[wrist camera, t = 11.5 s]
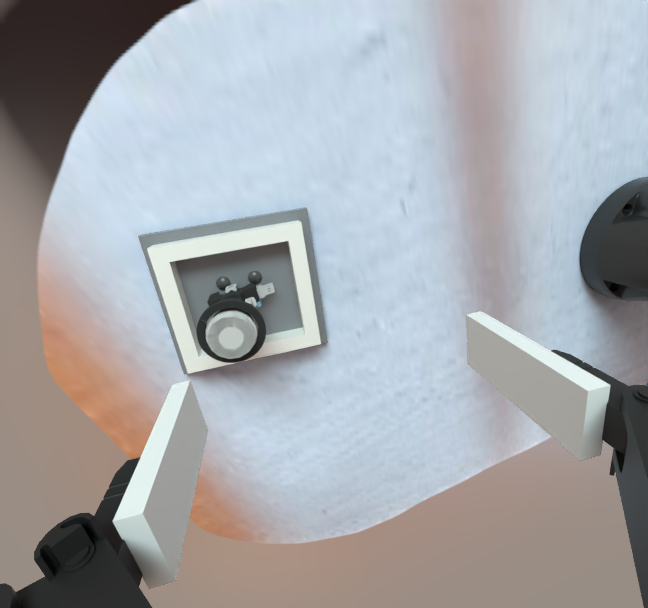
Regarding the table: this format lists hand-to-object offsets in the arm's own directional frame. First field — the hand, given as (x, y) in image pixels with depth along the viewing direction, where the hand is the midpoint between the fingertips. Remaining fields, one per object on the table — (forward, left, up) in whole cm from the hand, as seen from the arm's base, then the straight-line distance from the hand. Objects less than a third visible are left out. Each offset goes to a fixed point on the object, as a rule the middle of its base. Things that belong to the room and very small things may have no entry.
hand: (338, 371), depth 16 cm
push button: (+5, +2, -21) cm, 22 cm away
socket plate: (+5, +2, -22) cm, 23 cm away
